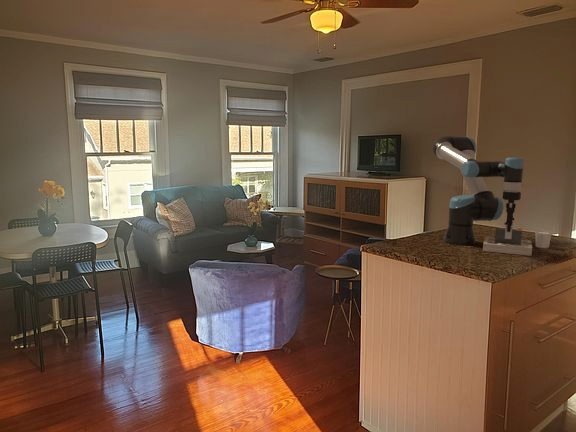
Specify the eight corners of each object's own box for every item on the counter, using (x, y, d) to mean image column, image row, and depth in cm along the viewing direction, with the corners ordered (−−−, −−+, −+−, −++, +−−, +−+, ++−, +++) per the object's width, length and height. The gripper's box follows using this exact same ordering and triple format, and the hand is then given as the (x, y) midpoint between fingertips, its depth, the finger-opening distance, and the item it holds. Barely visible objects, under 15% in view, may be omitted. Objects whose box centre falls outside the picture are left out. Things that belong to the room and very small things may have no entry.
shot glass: (542, 248, 214) (543, 234, 212) (530, 245, 220) (532, 231, 219) (553, 248, 215) (555, 233, 214) (542, 244, 222) (543, 231, 221)
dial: (492, 245, 209) (494, 228, 208) (494, 240, 220) (495, 224, 218) (521, 248, 204) (523, 231, 202) (521, 243, 214) (523, 226, 213)
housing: (482, 250, 209) (483, 242, 208) (485, 243, 225) (486, 235, 224) (531, 255, 200) (532, 247, 199) (530, 247, 216) (531, 239, 215)
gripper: (521, 194, 195) (517, 241, 198) (521, 189, 217) (517, 232, 220) (502, 193, 198) (498, 240, 202) (503, 188, 220) (500, 231, 224)
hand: (508, 236), depth 211 cm, fingers open, 13 cm apart
